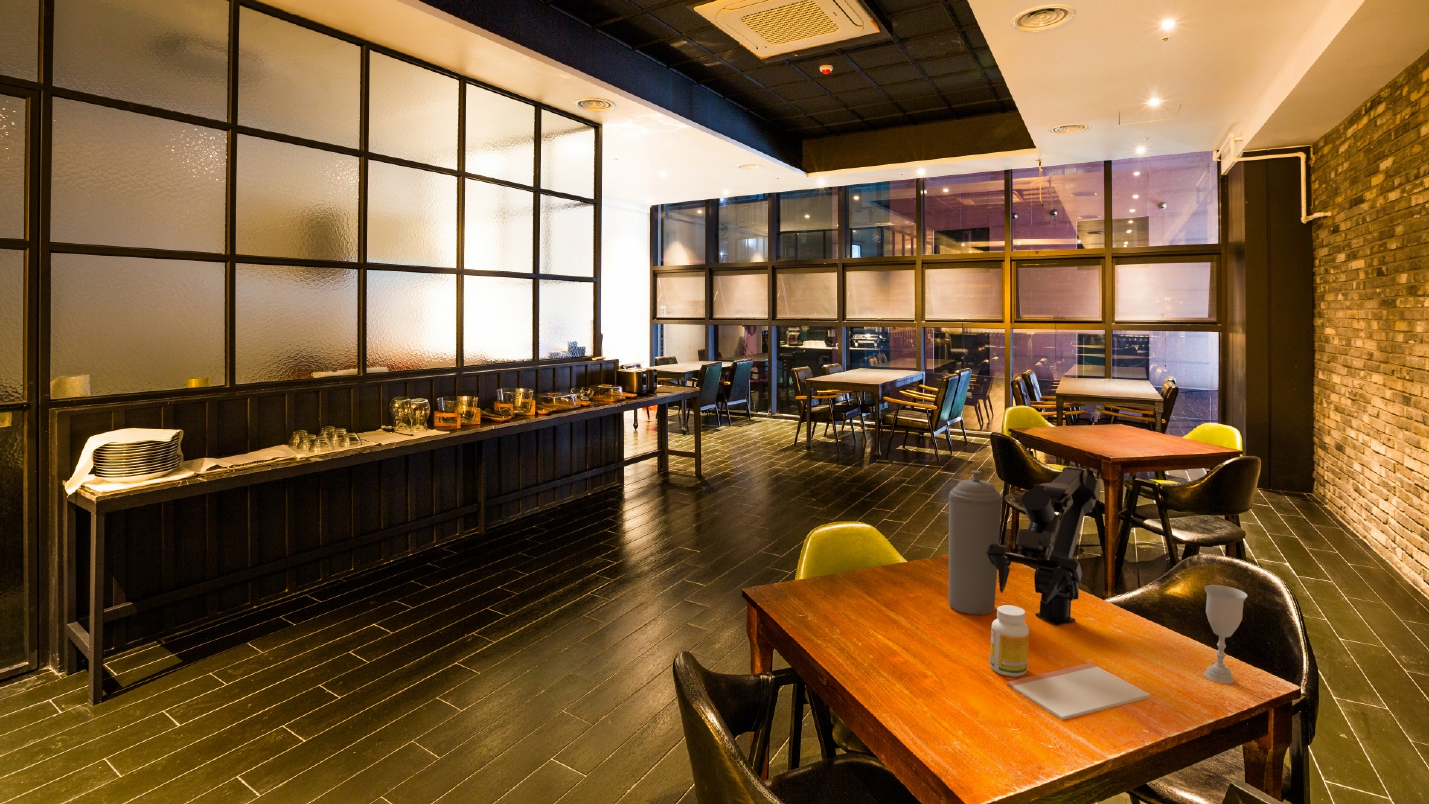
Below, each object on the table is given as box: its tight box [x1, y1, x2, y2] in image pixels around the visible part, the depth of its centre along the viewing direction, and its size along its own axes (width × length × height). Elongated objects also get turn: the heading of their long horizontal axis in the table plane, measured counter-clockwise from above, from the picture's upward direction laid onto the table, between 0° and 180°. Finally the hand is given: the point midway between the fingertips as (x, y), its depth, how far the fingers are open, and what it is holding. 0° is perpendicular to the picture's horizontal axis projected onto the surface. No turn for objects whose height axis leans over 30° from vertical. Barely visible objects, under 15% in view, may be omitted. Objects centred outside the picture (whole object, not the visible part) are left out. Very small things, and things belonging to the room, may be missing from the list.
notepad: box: [1006, 662, 1151, 721], centre depth 140 cm, size 22×14×1 cm, turn 110°
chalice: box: [1203, 584, 1248, 685], centre depth 144 cm, size 7×7×18 cm
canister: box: [948, 470, 1004, 616], centre depth 180 cm, size 13×13×35 cm
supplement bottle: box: [989, 604, 1030, 678], centre depth 149 cm, size 7×7×13 cm
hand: (1022, 596), depth 154 cm, fingers open, 9 cm apart
